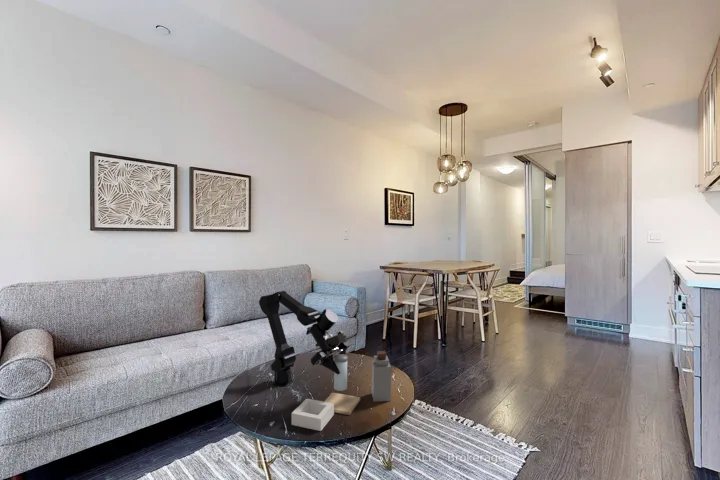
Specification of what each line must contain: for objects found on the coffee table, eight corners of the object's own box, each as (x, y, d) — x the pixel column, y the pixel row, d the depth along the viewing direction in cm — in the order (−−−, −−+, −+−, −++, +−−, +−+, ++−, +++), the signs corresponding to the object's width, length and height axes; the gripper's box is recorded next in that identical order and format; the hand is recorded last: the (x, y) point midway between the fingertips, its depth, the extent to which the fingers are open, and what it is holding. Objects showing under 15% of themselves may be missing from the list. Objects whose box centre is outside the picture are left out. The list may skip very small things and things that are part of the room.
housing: (291, 424, 117) (291, 413, 116) (306, 409, 127) (306, 398, 127) (320, 431, 113) (320, 419, 113) (333, 414, 123) (334, 403, 123)
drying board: (319, 409, 127) (319, 406, 127) (332, 394, 138) (332, 392, 138) (349, 415, 123) (349, 412, 123) (360, 399, 134) (360, 397, 134)
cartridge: (333, 391, 128) (334, 359, 127) (333, 384, 133) (333, 354, 133) (347, 390, 128) (348, 359, 128) (346, 384, 133) (347, 354, 133)
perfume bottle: (371, 393, 140) (372, 349, 140) (387, 392, 141) (388, 349, 140) (373, 401, 133) (374, 355, 133) (390, 401, 134) (391, 355, 133)
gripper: (316, 330, 125) (340, 368, 119) (347, 320, 140) (369, 352, 134) (301, 347, 129) (322, 384, 123) (332, 335, 145) (353, 368, 139)
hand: (343, 371), depth 130 cm, fingers closed on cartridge, 5 cm apart
